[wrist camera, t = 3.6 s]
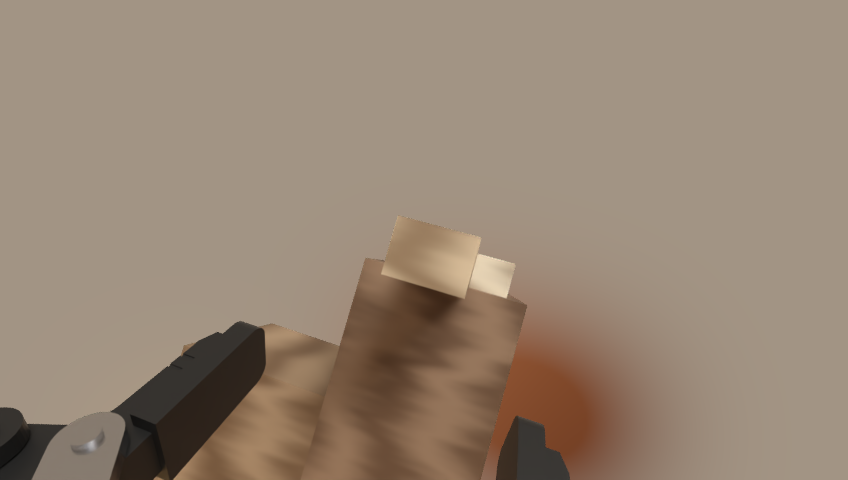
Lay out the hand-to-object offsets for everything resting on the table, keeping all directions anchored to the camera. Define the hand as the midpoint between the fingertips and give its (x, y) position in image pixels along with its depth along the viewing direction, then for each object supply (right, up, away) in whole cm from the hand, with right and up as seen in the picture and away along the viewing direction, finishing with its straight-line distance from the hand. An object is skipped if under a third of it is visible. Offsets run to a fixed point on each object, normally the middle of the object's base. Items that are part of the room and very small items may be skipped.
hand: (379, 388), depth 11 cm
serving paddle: (+3, +2, +15) cm, 16 cm away
